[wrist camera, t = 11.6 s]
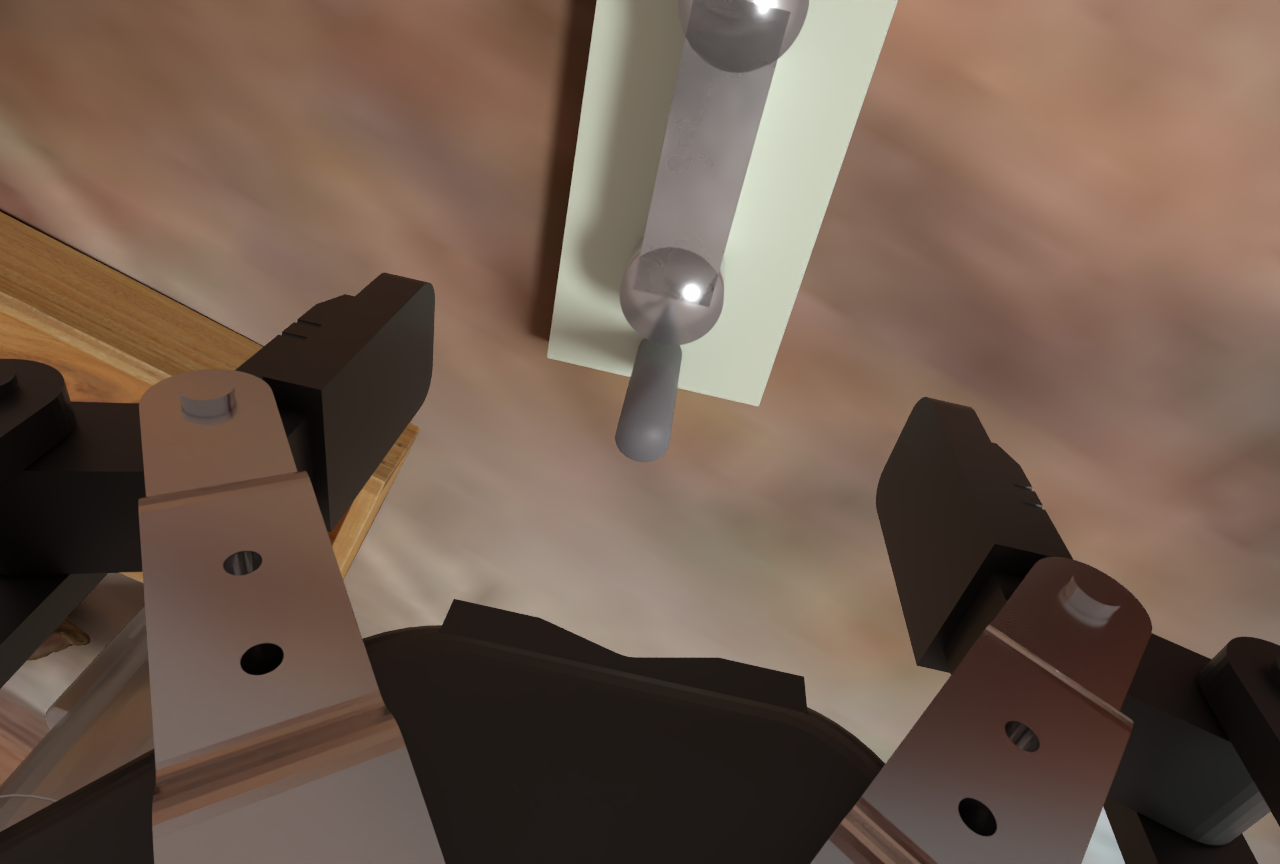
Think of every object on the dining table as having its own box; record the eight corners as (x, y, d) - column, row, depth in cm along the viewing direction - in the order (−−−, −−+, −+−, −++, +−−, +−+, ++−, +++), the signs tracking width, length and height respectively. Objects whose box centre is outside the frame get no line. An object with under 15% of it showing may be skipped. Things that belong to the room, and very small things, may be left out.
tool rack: (757, 390, 34) (762, 500, 27) (553, 343, 34) (505, 442, 27) (946, -169, 23) (1040, -229, 16) (638, -244, 23) (592, -339, 15)
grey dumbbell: (711, 324, 31) (708, 355, 29) (621, 303, 31) (611, 332, 29) (819, -60, 23) (828, -63, 21) (699, -89, 23) (695, -95, 21)
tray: (425, 423, 38) (381, 488, 34) (341, 586, 46) (296, 657, 41) (-200, 91, 32) (-361, 113, 27) (-173, 344, 40) (-295, 395, 35)
